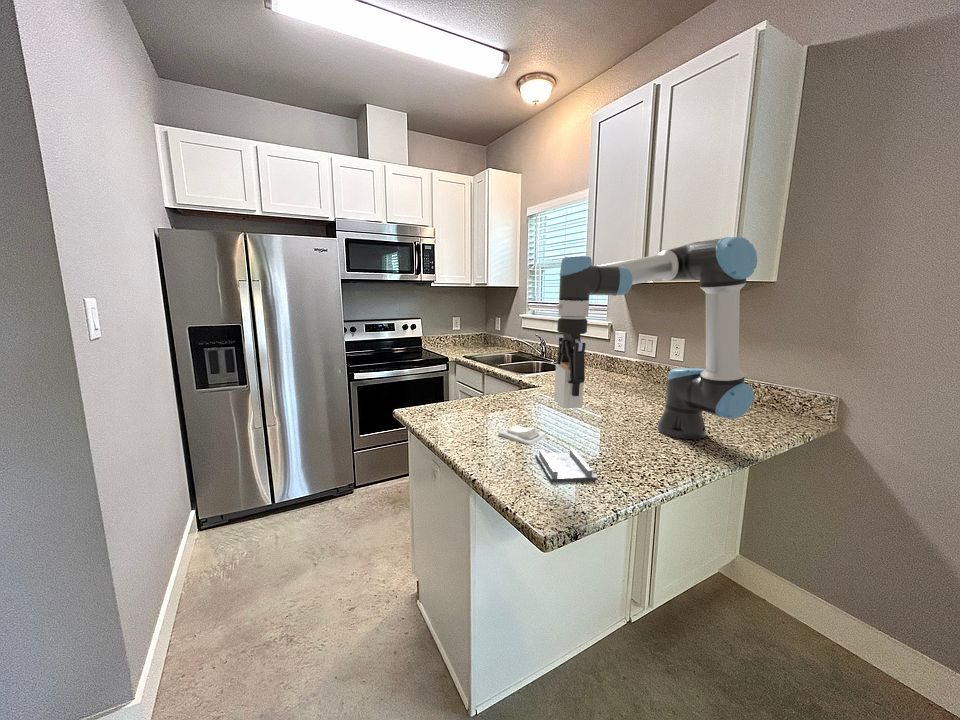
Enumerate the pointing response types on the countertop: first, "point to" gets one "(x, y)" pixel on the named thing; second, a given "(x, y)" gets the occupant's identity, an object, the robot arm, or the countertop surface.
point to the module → (564, 385)
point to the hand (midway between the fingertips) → (567, 402)
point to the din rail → (565, 467)
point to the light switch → (522, 434)
